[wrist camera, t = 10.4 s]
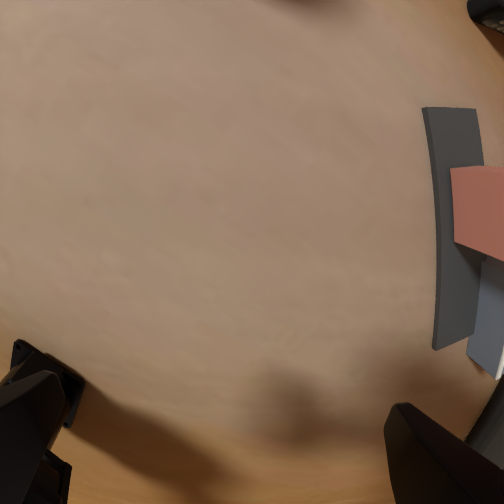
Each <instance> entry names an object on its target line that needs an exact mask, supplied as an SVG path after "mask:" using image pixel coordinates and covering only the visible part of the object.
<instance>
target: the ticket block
mask: <svg viewBox="0 0 504 504" xmlns="http://www.w3.org/2000/svg"><path fill="white" fill-rule="evenodd" d="M422 112H423V118H424V123H425V129H426V134H427V141H428V147H429V154H430V162H431V170H432V179H433V189H434V201H435V216H436V241H437V280H436V304H435V320H434V331H433V342H432V348H433V349H434V350H435V351H437V350H439V349H441V348H444V347H446V346H448V345H451V344H453V343H455V342H457V341H459V340H462V339H464V338H466V337H468V336H469V340H468V346H467V352H466V354H467V355H468V356H469V357H470V358H472V359H473V360H474V361H475V362H476V363H477V364H479V365H480V366H481V367H482V368H483V369H484V370H485V371H487V372H488V373H489V374H490V375H491V376H492V377H493V378H494V379H496V380H498V379H499V378H500V377H501V375H502V374H504V261H502V260H499V259H497V258H495V257H492V256H490V255H489V256H486V255H487V254H485V253H482V252H480V251H477V250H475V249H472V248H470V247H467V246H465V245H462V244H459V243H457V242H454V214H453V197H452V184H451V173H450V168H459V167H469V166H484V160H483V152H482V144H481V137H480V130H479V124H478V118H477V113H476V109H470V108H447V107H425V108H422Z"/></svg>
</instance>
